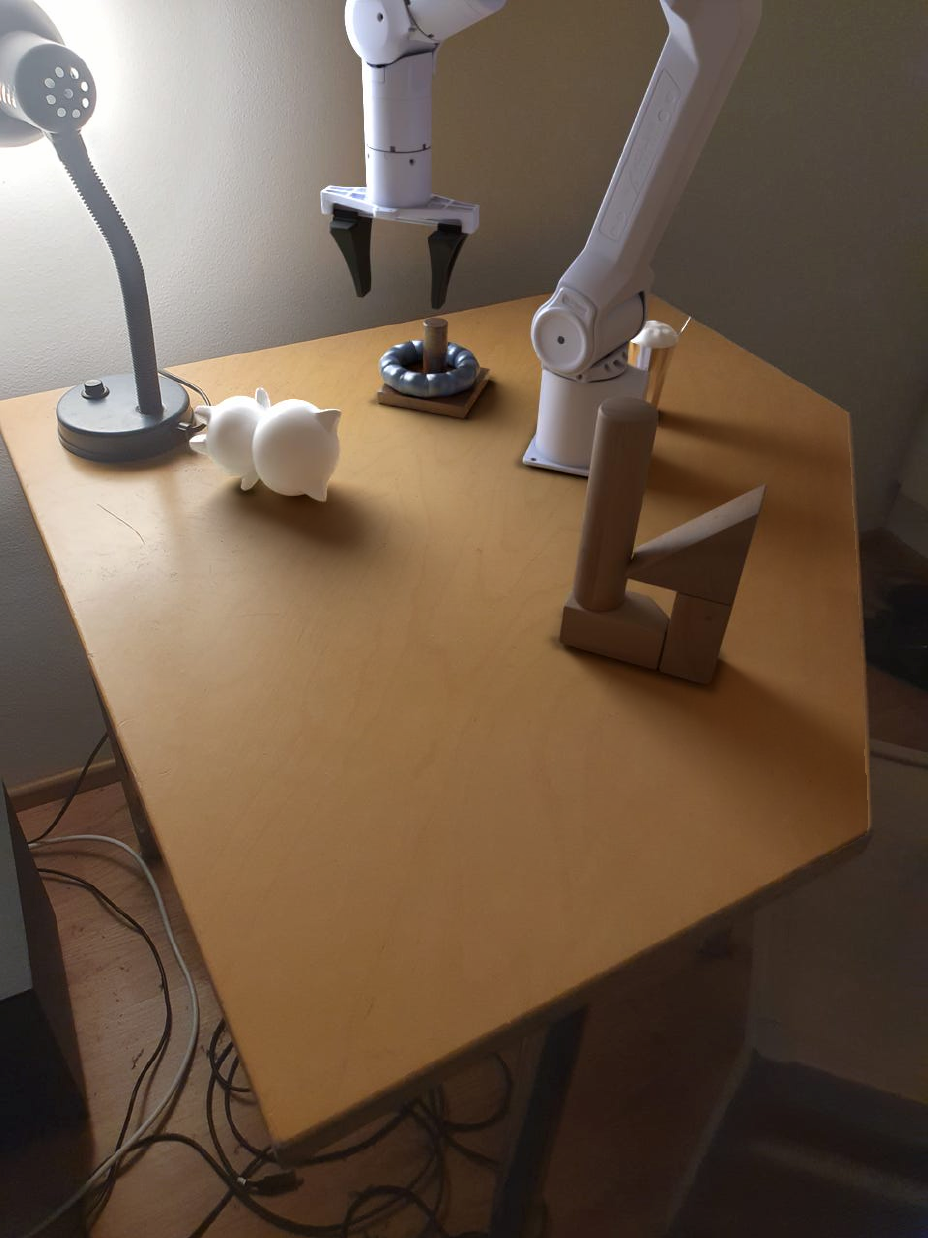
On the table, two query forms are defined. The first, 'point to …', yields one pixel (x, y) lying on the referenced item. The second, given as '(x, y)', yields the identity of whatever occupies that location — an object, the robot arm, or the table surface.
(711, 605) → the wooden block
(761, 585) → the table surface
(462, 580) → the table surface
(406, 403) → the stand
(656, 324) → the milkshake
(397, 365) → the ring
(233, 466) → the cat figurine
